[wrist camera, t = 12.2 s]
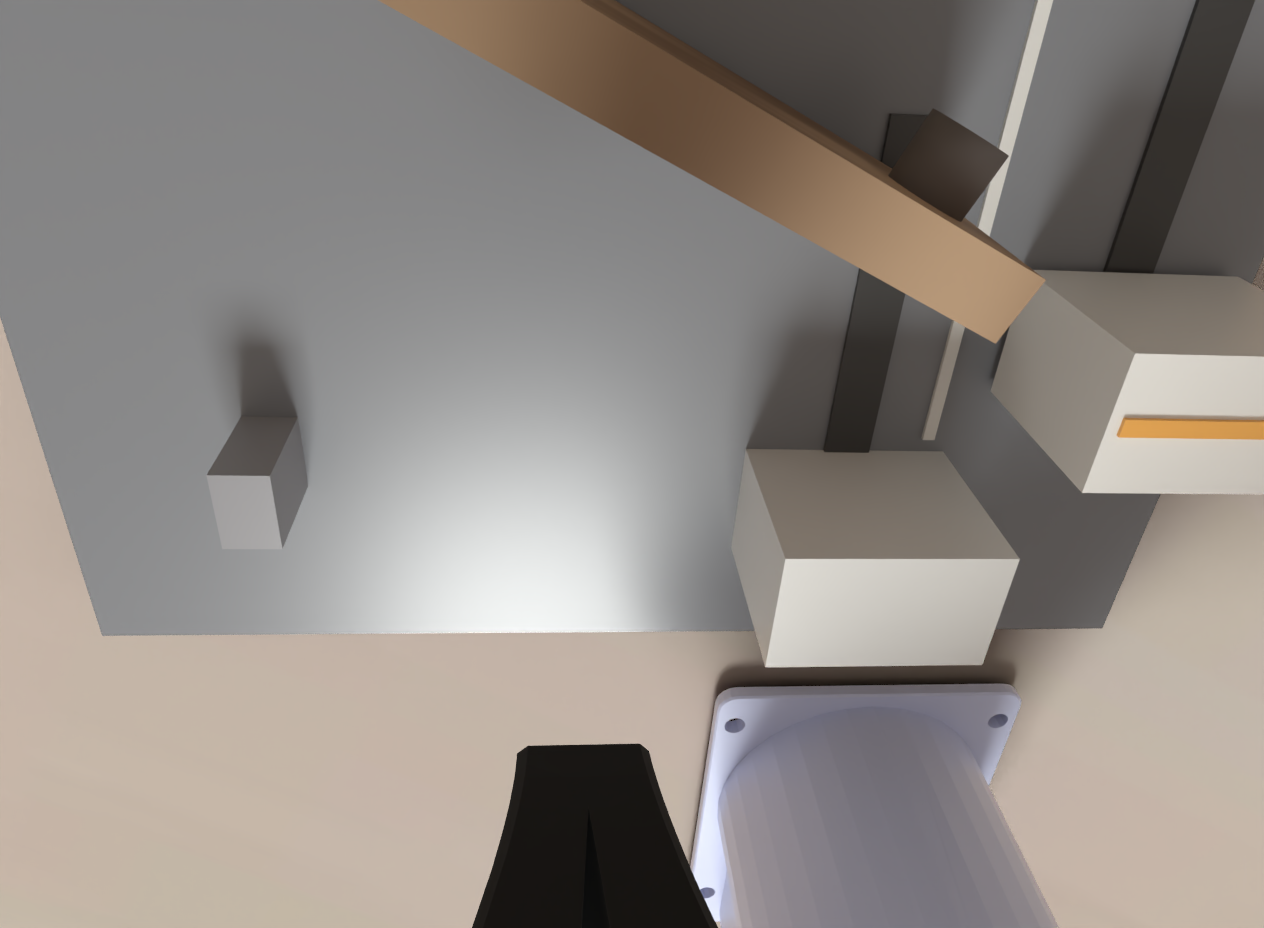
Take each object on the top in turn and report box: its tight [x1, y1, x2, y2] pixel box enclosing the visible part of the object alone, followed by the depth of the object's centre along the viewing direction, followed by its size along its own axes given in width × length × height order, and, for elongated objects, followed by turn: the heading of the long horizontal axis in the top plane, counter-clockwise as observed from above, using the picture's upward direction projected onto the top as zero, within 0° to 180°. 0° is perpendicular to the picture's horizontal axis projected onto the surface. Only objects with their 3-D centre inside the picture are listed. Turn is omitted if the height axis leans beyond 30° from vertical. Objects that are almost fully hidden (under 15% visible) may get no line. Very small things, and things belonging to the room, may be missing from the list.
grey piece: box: [0, 0, 1264, 667], centre depth 15 cm, size 15×22×6 cm
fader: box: [991, 270, 1264, 494], centre depth 15 cm, size 2×4×4 cm, turn 86°
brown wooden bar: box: [378, 0, 1046, 344], centre depth 12 cm, size 10×2×4 cm, turn 61°
